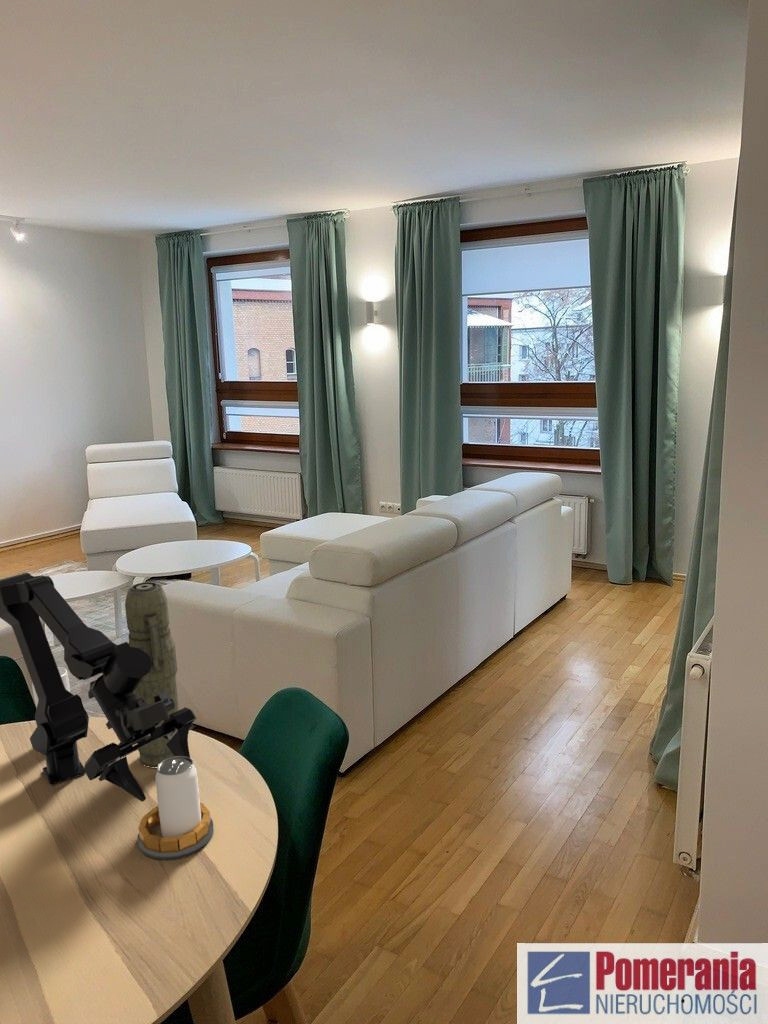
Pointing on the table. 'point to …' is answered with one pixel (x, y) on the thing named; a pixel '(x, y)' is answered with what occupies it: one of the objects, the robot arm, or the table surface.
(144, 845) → the ring plate
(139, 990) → the table surface
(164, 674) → the thermos
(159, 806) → the can
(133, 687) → the robot arm
